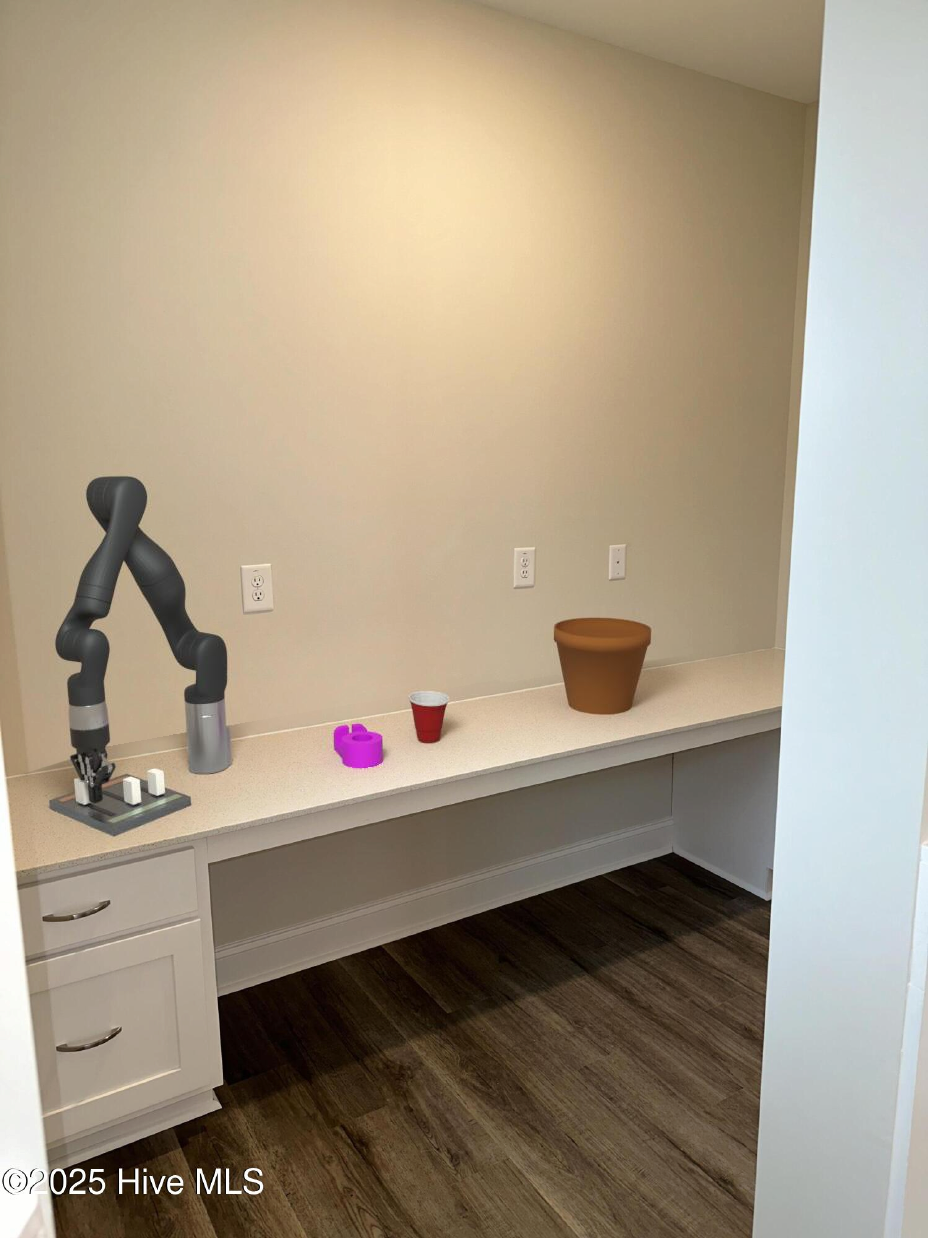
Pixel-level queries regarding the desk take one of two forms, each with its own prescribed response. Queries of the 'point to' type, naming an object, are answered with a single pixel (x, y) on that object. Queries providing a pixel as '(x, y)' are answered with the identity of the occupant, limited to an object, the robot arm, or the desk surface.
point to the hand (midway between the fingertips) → (96, 801)
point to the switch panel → (120, 807)
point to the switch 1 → (81, 791)
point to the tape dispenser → (358, 746)
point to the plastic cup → (428, 714)
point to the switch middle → (132, 790)
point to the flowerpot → (601, 662)
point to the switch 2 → (155, 781)
